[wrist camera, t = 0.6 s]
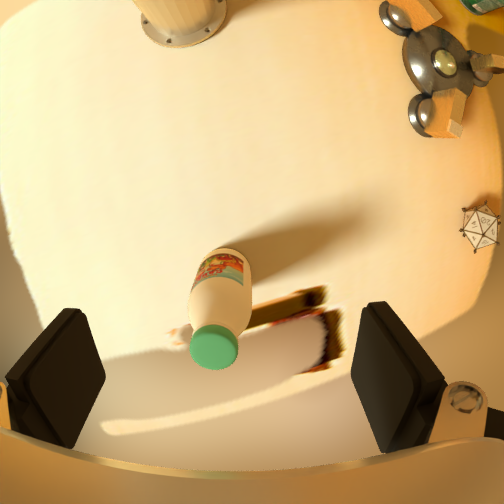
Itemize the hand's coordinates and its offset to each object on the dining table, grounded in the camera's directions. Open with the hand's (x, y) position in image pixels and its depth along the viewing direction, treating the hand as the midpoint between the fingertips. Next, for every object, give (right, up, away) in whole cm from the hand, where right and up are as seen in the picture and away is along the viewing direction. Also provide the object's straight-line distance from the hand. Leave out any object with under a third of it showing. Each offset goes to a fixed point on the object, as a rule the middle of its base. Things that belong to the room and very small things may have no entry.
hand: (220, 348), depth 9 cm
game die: (+40, +9, +35) cm, 54 cm away
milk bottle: (-3, 0, +37) cm, 37 cm away
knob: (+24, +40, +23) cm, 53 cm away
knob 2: (+41, +36, +25) cm, 60 cm away
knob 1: (+28, +25, +29) cm, 47 cm away
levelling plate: (+30, +35, +25) cm, 53 cm away
